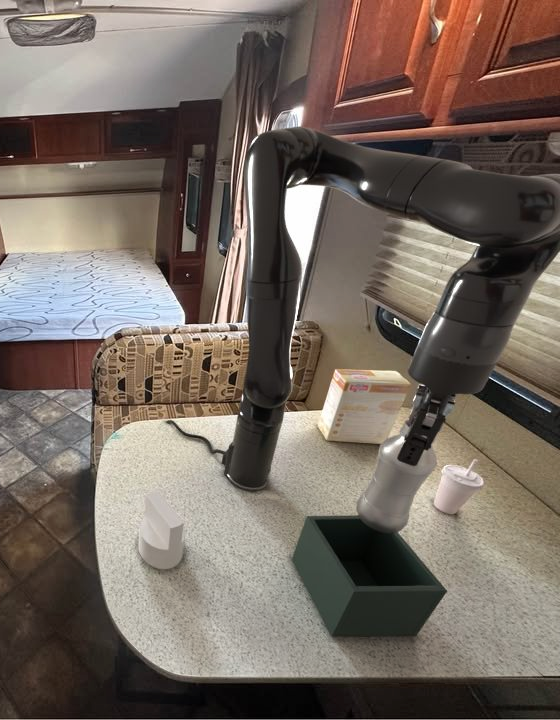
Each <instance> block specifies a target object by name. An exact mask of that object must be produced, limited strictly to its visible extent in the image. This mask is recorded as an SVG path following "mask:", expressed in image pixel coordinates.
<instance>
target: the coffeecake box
mask: <svg viewBox="0 0 560 720" xmlns="http://www.w3.org/2000/svg"><path fill="white" fill-rule="evenodd" d="M411 386H412V384H411V383H410V382H409V381H408V380H407V379H406V378H405V377H403V376H402V374H401V373H399V372H398V371H397V370H375V369H374V370H373V369H371V370H370V369H369V370H368V369H346V368H345V369H344V368H342V369H340V368H335V369H334V372H333V375H332V379H331V381H330V385H329V389H328V391H327V395H326V398H325V401H324V404H323V407H322V411H321V414H320V417H319V421H318V424H317V427H318V429H319V431H320V432H321V433H322V435H323V438H324V439H325V441H328V442H331V441H332V442H345V443H346V442H347V443H348V442H349V443H359V444H360V443H361V444H374V445H381V444H382V443H383V442H384V441H385V440H386V439H388V438H390V434H391V432H392V430H393V428H394V426H395V423H396V421H397V418H398V415H399V413H400V411H401V409H402V406H403V404H404V401H405V399H406V397H407V395H408V392H409V390H410V387H411Z"/></svg>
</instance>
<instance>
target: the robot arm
mask: <svg viewBox="0 0 560 720" xmlns="http://www.w3.org/2000/svg"><path fill="white" fill-rule="evenodd" d="M243 164H244V165H243V187H244V199H245V208H246V210H245V211H246V223H247V224H246V225H247V267H246V269H247V270H246V287H245V288H246V290H245V291H246V293H245V294H246V296H245V297H246V323H247V334H248V355H247V363H246V368H245V369H246V370H245V374H244V378H243V383H242V384H243V387H242V392H241V397H240V401H239V406H238V410H237V417H236V423H235V428H234V433H233V438H232V442H231V443H230V444H228V448H227V449H226V451H225V450H222V449H218V448H215V449H214V448H213V446H212V444H211V442H210V440H209V439H207V437H205V436H202V435H199V434H191V433H188V432H186V431H184V430H183V429H182V428H181V427H180V426H179V425H178V424H177V423H176V422H175V421H174V420H172V419H168V420H166V421H165V423H166V424H171V425H173V426H174V428H175V429H176V430H177V431H178V432H179V434H181V435H182V436H184V437H187V438H191V439H198V440H202V441H204V442H205V443H206V445H207V448H208V450H209V452H210V453H211V454H212V455H213V454H214V455H215V454H220V455H222V458H221V465H223V466H224V471H223V475H224V476H225V477H227V479H228V481H230V482H231V484H233V485H234V486H235V487H237V488H239V489H241V490H244V491H248V492H259V491H261V490H263V489H265V488H266V487H267V485H268V481H269V477H270V475H271V471H272V470H271V469H272V463H273V460H274V456H275V452H276V449H277V445H278V441H279V437H280V433H281V429H282V426H283V422H284V418H285V417H284V416H285V411H286V407H287V402H288V399H289V398H290V397H291V394H292V392H293V387H294V386H293V385H294V370H293V367H292V365H291V346H292V345H291V344H292V339H293V335H294V331H295V326H296V322H297V316H298V312H299V306H300V299H301V292H302V291H301V290H302V278H303V277H302V276H303V264H302V259H301V257H300V254H299V252H298V249H297V247H296V246H295V244H294V241H293V240H292V237H291V235H290V233H289V231H288V228H287V227H288V226H287V223H286V222H287V221H286V195H287V190H288V189H292V188H295V187H299V186H318V187H326V188H332V189H335V190H339V191H341V192H343V193H345V194H346V195H348V196H350V197H351V198H352V199H354V200H355V201H357V202H358V203H359V204H361V205H363V206H365V207H367V208H370V209H372V210H374V211H378V212H381V213H384V214H388V215H391V216H395V217H398V218H402V219H406V220H408V221H409V220H410V221H414V222H419V223H423V224H425V225H427V226H429V227H431V228H433V229H435V230H437V231H439V232H441V233H443V234H445V235H448V236H450V237H451V238H452V237H453V238H455V239H457V240H460V241H463V242H465V243H468V244H472V245H476V247H475V249H474V251H473V253H472V254H471V257H469V259H468V260H467V261H466V262H464V264H463V265H460V267H458V268H456V270H455V271H454V272H453V273H452V274H451V275H450V277H449V278H448V280H447V282H446V283H445V286H444V288H443V291H442V293H441V296H440V298H439V300H438V303H437V306H436V307H435V310H434V312H433V313H432V315H431V317H430V319H429V320H428V321H427V323H426V325H425V327H424V329H423V332H422V335H421V337H420V339H419V341H418V343H417V345H416V348H415V351H414V353H413V356H412V357H411V361H410V362H409V365H408V368H407V374H408V376H409V377H410V378H411V379H412V380H414V381H415V382H416V383H418V385H417V387H416V390H415V392H414V397H413V399H412V404H411V410H410V413H409V415H408V418H407V419H406V420H407V421H408V423H409V424H410V427H409V430H408V432H407V434H405V436H404V437H405V438H404V440H405V441H404V443H403V445H402V447H401V450H400V452H399V454H398V457H397V459H398V460H399V461H400V462H403V463H406V464H408V465H411V466H416V465H417V464H418V462H419V460H420V458H421V456H422V454H423V452H424V450H427V451H428V450H429V449H430V448H431V446H432V447H433V444H432V442H433V440H434V438H435V437H436V438H437V436H438V435H437V433H438V434H439V433H440V432H441V431H442V429H443V427H444V424H445V423H446V420H447V417H448V415H449V414H452V412H453V410H454V408H455V404H456V401H455V399H456V397H457V395H473V394H477V393H479V392H481V391H482V390H483V389H485V386H486V384H487V382H488V381H489V379H490V376H491V375H492V373H493V372H494V370H495V368H496V367H497V366H496V365H497V364H498V362H499V360H500V359H501V357H502V354H503V353H504V352H505V351H504V350H506V347H507V345H508V343H509V342H510V338H511V335H512V331H513V329H514V326H515V324H516V323H517V321H518V318H519V317H520V315H521V313H522V311H523V309H524V307H525V305H526V303H527V302H528V300H529V297H530V295H531V293H532V290H533V288H534V286H535V285H536V283H537V282H538V280H539V279H540V278H541V276H542V275H543V274H544V273H545V271H546V270H547V269H548V268H549V266H550V265H551V264H552V262H553V261H554V260H555V258H556V257H557V256H558V255H559V254H560V173H545V174H537V175H528V176H526V175H517V174H516V175H515V174H506V173H498V172H492V171H486V170H479V169H473V167H472V166H471V165H469V164H466V163H464V162H460V161H456V160H451V159H445V158H438V157H432V156H427V155H419V154H414V153H413V154H412V153H405V152H398V151H391V150H384V149H378V148H373V147H369V146H368V147H367V146H363V145H360V144H355V143H351V142H348V141H345V140H343V139H339V138H337V137H335V136H332V135H329V134H327V133H325V132H322V131H319V130H317V129H314V128H312V127H307V126H293V127H286V128H278V129H271V130H267V131H264V132H261V133H259V134H258V135H257V136H256V137H255V138H253V140H252V141H251V143H250V144H249V146H248V148H247V151H246V154H245V157H244V163H243ZM415 434H420V435H423V436H426V438H425V437H422V436H419V435H415ZM436 435H437V436H436ZM431 444H432V445H431Z"/></svg>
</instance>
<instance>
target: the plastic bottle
mask: <svg viewBox="0 0 560 720" xmlns="http://www.w3.org/2000/svg"><path fill="white" fill-rule="evenodd" d="M407 420H408V419H406V420H405V421H404V422H403V424H402V426H401V427H400V429H399V431H398V432H399V434H396V435H393V436H389V437H388V439H386V440H385V441H384V442H383V443H382V444H379V448H378V454H377V459H376V465H375V467H374V471H373V474H372V477H371V479H370V481H369V483H368V485H367V487H366V488H365V489H364V491H363V492H362V493H361V494H360V496H359V497H358V498H357V500H356V507H355V510H356V513H357V515H359V517H360V519H361V520H362V521H363V522H364V523H365V524H366V525H367V526H369V527H370V528H372V529H374V530H377V531H379V532H382V533H396V532H398V533H400V532H401V531H402V530H403V529H404V528H405V527H406V526H407V525H408V522H409V519H410V511H411V507H412V505H413V501H414V498H415V496H416V495H417V493H418V491H419V490H420V489H421V487H422V485H423V484H424V482H425V481H426V480H427V479H428V477H430V475H431V474H432V473H433V472H434V471H435V468H437V464H438V463H437V462H438V461H437V455H436V452H435V450H434V448H433V445H434V444H435V443H436V440H437V439H436V438H437V437H438V434H439V432H438V433H437V435H436V437H435V438H434V440H433V442H432V444H431V445H432V446H431V448H430V449H429V450H428V451H427V450H424V452H423V454H422V456H421V458H420V460H419V462H418V464H417V465H416V466H411V465H408V464H406V463H403V462H400V461H399V460H398V459H397V457H398V454H399V452H400V450H401V447H402V445H403V443H404V441H405V440H404V438H405V437H404V436H405V434H407V432H408V430H409V427H410V424H409V423H408V421H407ZM415 435H419V436H422V437H425V438H426V436H423V435H420V434H415Z"/></svg>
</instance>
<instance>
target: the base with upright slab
mask: <svg viewBox="0 0 560 720" xmlns="http://www.w3.org/2000/svg"><path fill="white" fill-rule="evenodd" d="M144 498H145V499H144V515H143V516H142V517H141V519H140V522H139V527H138V552H139V554H140V556H141V558H142V559H143V561H144V562H145V563H146V564H148V565H149V566H150V567H153V568H155V569H159V570H169V569H173V568H175V567H176V566H178V565H179V564H180V562H181V561H182V559H183V556H184V548H185V542H186V541H185V540H186V529H185V526H184V525H185V521H184V520H183V519H182V518H181V516H180V515H179V514H178V513H177V511H176V510H175V509H174V508H173V506H172V505H171V504H170V503H169V501H168V500H167V499H166V498H165V497H164V495H163V494H162V493H161V492H160V491H159V490H158V489H155V490H152V491H150V492H148V493H146V494H145V496H144Z"/></svg>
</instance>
